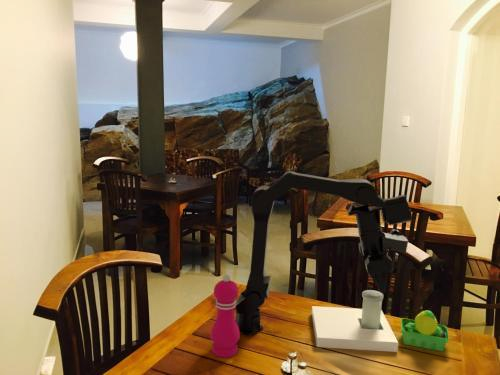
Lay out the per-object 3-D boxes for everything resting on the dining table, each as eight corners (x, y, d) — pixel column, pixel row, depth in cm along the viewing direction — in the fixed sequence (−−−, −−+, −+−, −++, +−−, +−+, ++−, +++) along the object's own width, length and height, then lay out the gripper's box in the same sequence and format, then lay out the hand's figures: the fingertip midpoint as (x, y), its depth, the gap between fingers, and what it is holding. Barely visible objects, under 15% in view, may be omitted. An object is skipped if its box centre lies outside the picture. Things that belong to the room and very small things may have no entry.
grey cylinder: (355, 331, 117) (358, 293, 115) (366, 325, 120) (369, 288, 118) (372, 339, 113) (376, 300, 111) (384, 333, 116) (387, 294, 114)
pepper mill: (235, 361, 103) (237, 282, 100) (206, 356, 105) (207, 278, 101) (242, 345, 110) (244, 271, 107) (215, 341, 112) (216, 268, 108)
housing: (316, 350, 109) (317, 337, 108) (311, 317, 126) (312, 306, 126) (397, 355, 108) (398, 342, 107) (380, 321, 125) (381, 310, 125)
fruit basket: (444, 343, 114) (449, 303, 112) (447, 360, 106) (452, 318, 104) (399, 334, 118) (403, 296, 116) (399, 351, 110) (402, 309, 108)
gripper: (410, 232, 99) (421, 295, 101) (394, 214, 117) (404, 267, 120) (361, 240, 101) (373, 302, 103) (353, 221, 119) (364, 274, 121)
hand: (380, 285), depth 112 cm, fingers open, 9 cm apart
